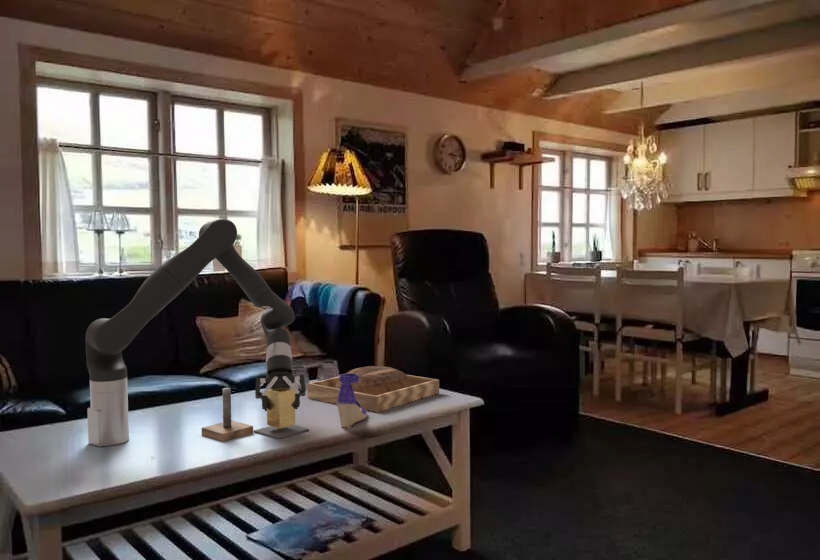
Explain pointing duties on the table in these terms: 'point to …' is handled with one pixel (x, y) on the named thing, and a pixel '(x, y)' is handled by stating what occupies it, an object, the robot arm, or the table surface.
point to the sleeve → (281, 407)
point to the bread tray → (380, 402)
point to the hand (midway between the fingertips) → (281, 408)
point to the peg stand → (227, 423)
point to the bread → (378, 380)
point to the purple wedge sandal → (349, 402)
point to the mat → (280, 431)
